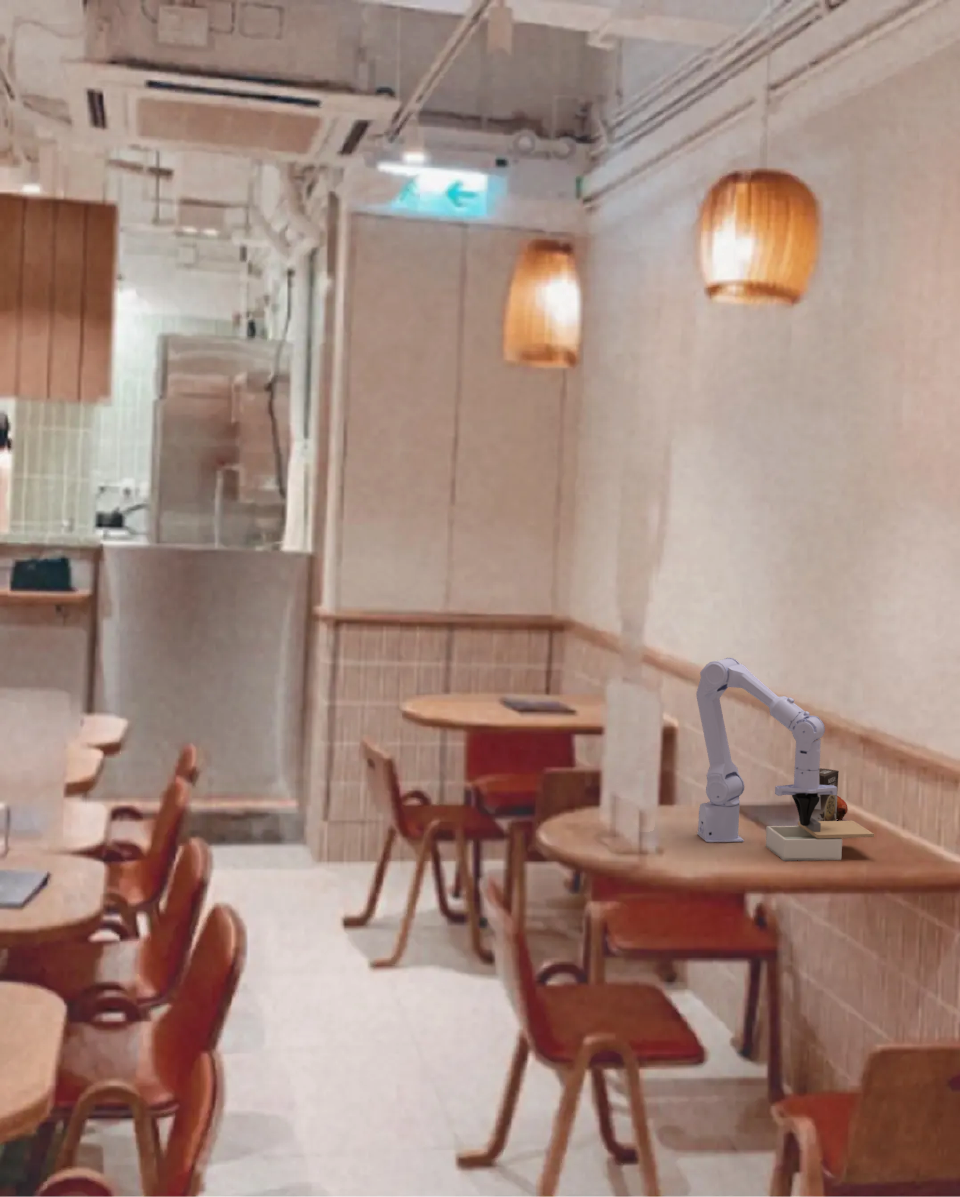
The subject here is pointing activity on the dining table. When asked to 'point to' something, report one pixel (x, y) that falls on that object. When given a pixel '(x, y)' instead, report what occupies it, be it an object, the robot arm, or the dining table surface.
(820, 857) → the mailer base
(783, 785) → the robot arm
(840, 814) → the pomegranate
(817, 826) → the mailer lid
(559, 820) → the dining table surface
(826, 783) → the coffee box
